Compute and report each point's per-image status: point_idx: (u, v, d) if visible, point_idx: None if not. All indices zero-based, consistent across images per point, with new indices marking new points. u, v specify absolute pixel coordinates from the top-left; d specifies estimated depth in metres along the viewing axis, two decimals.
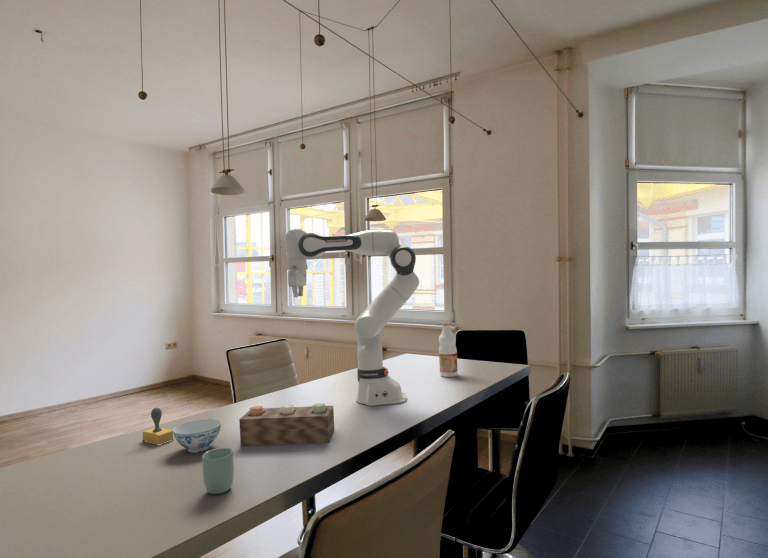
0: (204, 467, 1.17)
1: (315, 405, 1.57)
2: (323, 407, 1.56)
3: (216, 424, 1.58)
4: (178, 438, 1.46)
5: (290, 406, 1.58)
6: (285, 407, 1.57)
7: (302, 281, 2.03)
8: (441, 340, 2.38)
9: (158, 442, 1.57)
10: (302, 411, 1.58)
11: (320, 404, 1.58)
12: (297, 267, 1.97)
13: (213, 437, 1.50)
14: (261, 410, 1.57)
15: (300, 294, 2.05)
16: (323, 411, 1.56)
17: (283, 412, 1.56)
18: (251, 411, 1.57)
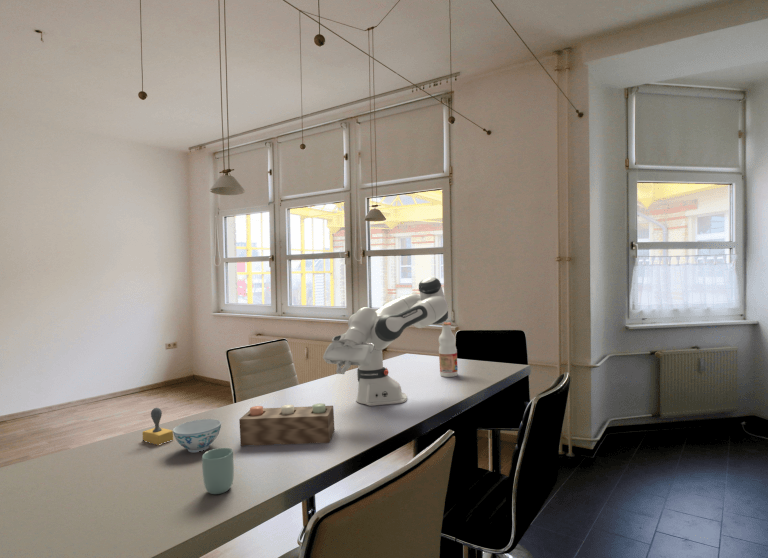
0: (204, 467, 1.17)
1: (315, 405, 1.57)
2: (323, 407, 1.56)
3: (216, 424, 1.58)
4: (178, 438, 1.46)
5: (290, 406, 1.58)
6: (285, 407, 1.57)
7: None
8: (441, 340, 2.38)
9: (158, 442, 1.57)
10: (302, 411, 1.58)
11: (320, 404, 1.58)
12: None
13: (213, 437, 1.50)
14: (261, 410, 1.57)
15: None
16: (323, 411, 1.56)
17: (283, 412, 1.56)
18: (251, 411, 1.57)
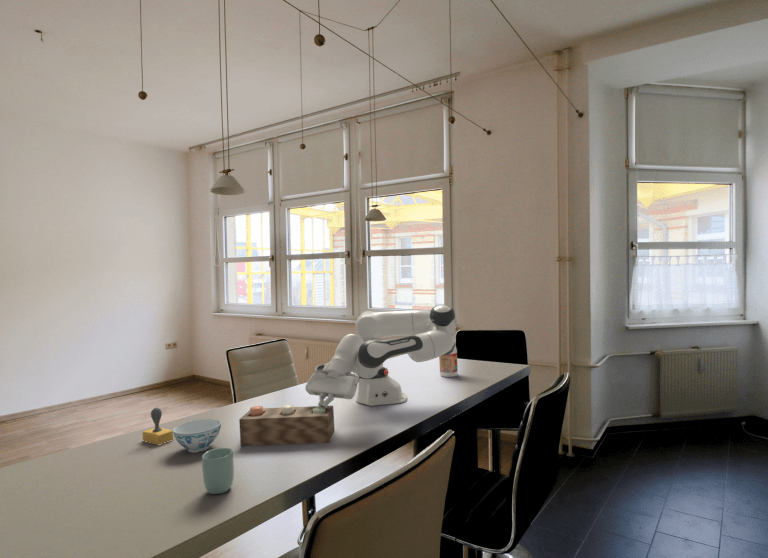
0: (204, 467, 1.17)
1: (315, 408, 1.57)
2: (323, 410, 1.56)
3: (216, 424, 1.58)
4: (178, 438, 1.46)
5: (290, 406, 1.58)
6: (285, 407, 1.57)
7: None
8: None
9: (158, 442, 1.57)
10: (302, 411, 1.58)
11: (320, 407, 1.58)
12: None
13: (213, 437, 1.50)
14: (261, 410, 1.57)
15: None
16: None
17: (283, 412, 1.56)
18: (251, 411, 1.57)
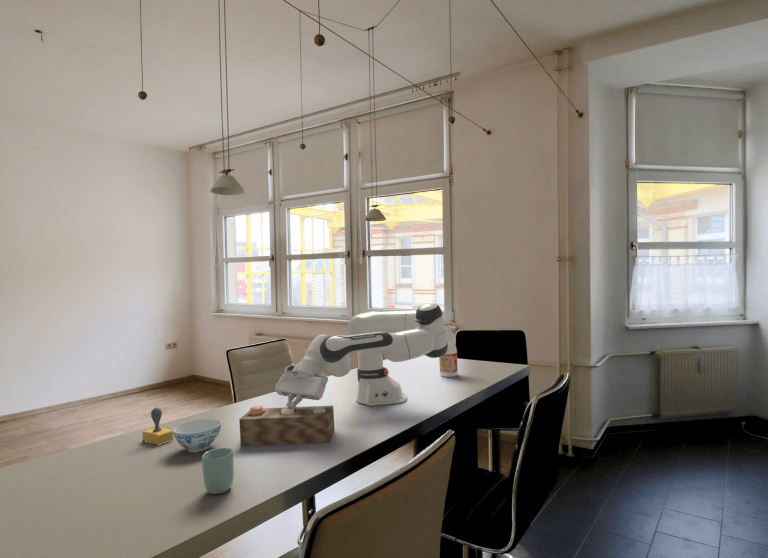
0: (204, 467, 1.17)
1: (315, 410, 1.57)
2: (323, 412, 1.56)
3: (216, 424, 1.58)
4: (178, 438, 1.46)
5: (290, 409, 1.58)
6: (285, 410, 1.57)
7: None
8: None
9: (158, 442, 1.57)
10: (302, 411, 1.58)
11: (320, 409, 1.58)
12: None
13: (213, 437, 1.50)
14: (261, 410, 1.57)
15: None
16: None
17: None
18: (251, 411, 1.57)
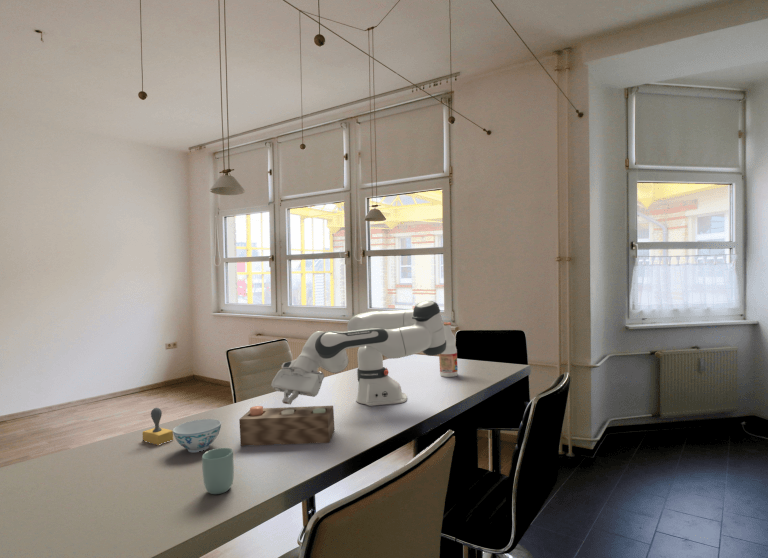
0: (204, 467, 1.17)
1: (315, 410, 1.57)
2: (323, 412, 1.56)
3: (216, 424, 1.58)
4: (178, 438, 1.46)
5: (290, 411, 1.58)
6: (285, 412, 1.57)
7: None
8: None
9: (158, 442, 1.57)
10: (302, 411, 1.58)
11: (320, 409, 1.58)
12: None
13: (213, 437, 1.50)
14: (261, 410, 1.57)
15: None
16: None
17: None
18: (251, 411, 1.57)
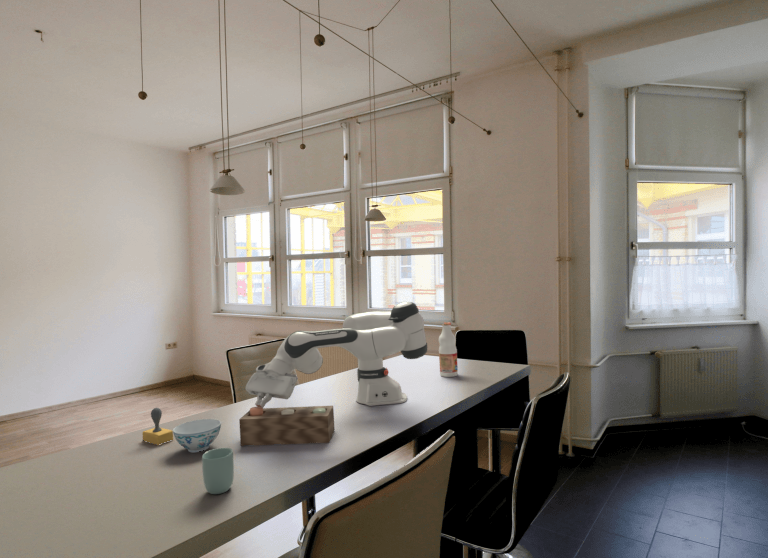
0: (204, 467, 1.17)
1: (315, 410, 1.57)
2: (323, 412, 1.56)
3: (216, 424, 1.58)
4: (178, 438, 1.46)
5: (290, 411, 1.58)
6: (285, 412, 1.57)
7: None
8: (441, 340, 2.38)
9: (158, 442, 1.57)
10: (302, 411, 1.58)
11: (320, 409, 1.58)
12: None
13: (213, 437, 1.50)
14: (261, 411, 1.57)
15: None
16: None
17: None
18: (251, 412, 1.57)
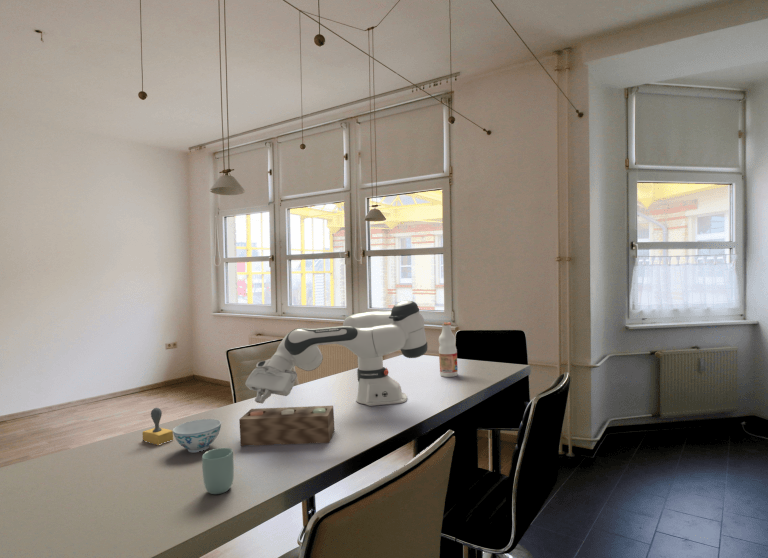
0: (204, 467, 1.17)
1: (315, 410, 1.57)
2: (323, 412, 1.56)
3: (216, 424, 1.58)
4: (178, 438, 1.46)
5: (290, 411, 1.58)
6: (285, 412, 1.57)
7: None
8: (441, 340, 2.38)
9: (158, 442, 1.57)
10: (302, 411, 1.58)
11: (320, 409, 1.58)
12: None
13: (213, 437, 1.50)
14: None
15: None
16: None
17: None
18: None
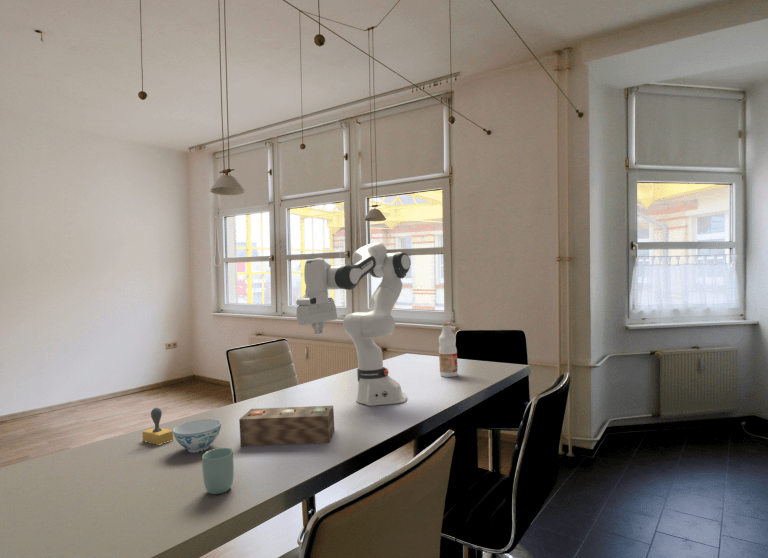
0: (204, 467, 1.17)
1: (315, 410, 1.57)
2: (323, 412, 1.56)
3: (216, 424, 1.58)
4: (178, 438, 1.46)
5: (290, 411, 1.58)
6: (285, 412, 1.57)
7: None
8: (441, 340, 2.38)
9: (158, 442, 1.57)
10: (302, 411, 1.58)
11: (320, 409, 1.58)
12: None
13: (213, 437, 1.50)
14: None
15: None
16: None
17: None
18: None
